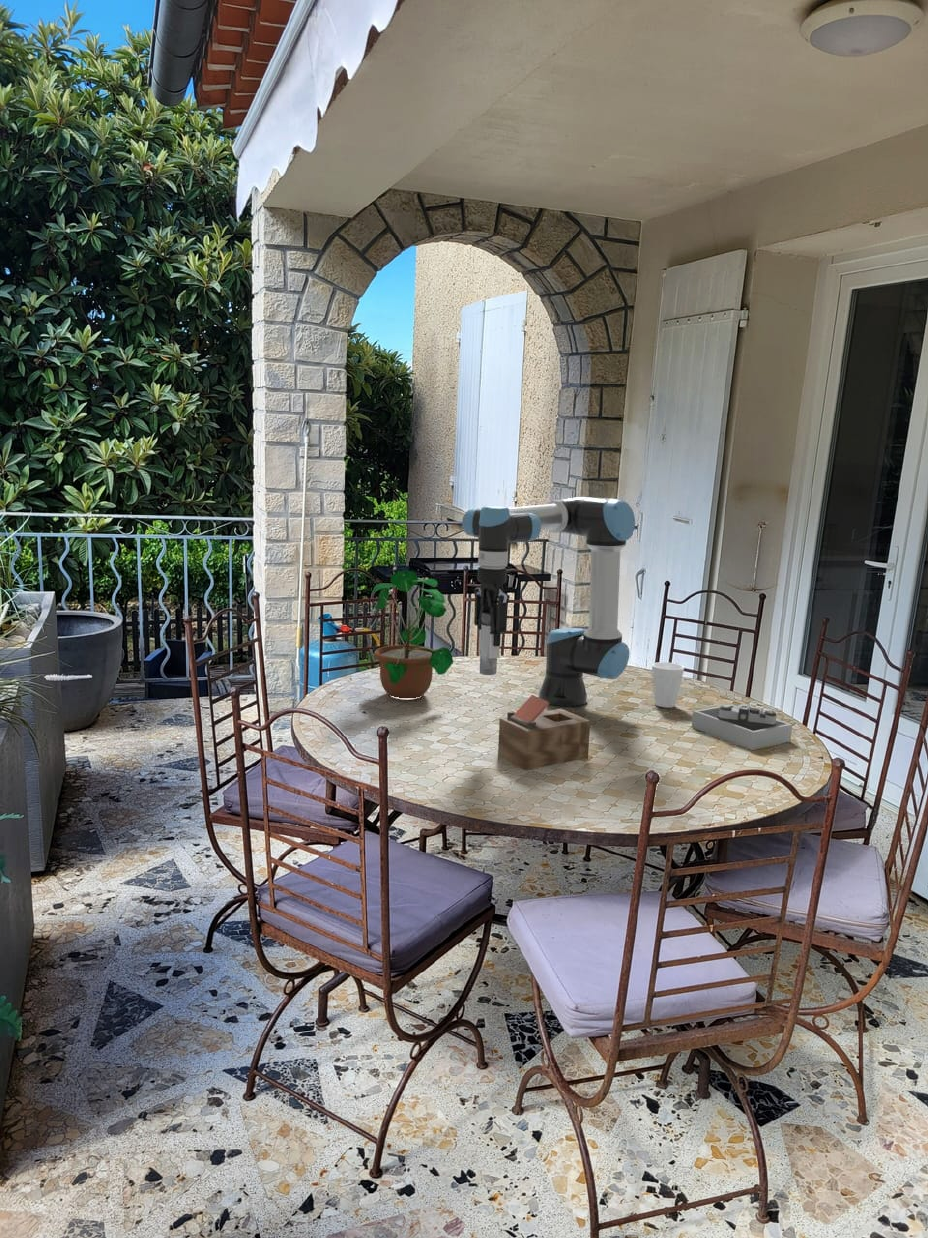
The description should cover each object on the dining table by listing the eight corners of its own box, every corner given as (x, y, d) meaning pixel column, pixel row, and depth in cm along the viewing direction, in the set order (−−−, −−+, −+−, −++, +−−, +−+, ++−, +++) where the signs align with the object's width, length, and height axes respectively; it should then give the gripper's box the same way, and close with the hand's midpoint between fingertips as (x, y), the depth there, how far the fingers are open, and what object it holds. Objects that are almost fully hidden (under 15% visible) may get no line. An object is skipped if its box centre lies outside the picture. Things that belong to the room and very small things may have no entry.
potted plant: (426, 715, 258) (430, 582, 251) (349, 698, 273) (351, 572, 266) (480, 693, 284) (485, 572, 277) (407, 678, 299) (410, 563, 291)
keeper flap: (533, 696, 226) (531, 694, 225) (550, 703, 220) (548, 701, 219) (511, 720, 223) (509, 717, 223) (528, 728, 217) (526, 725, 217)
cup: (646, 707, 275) (649, 667, 272) (651, 699, 284) (654, 660, 281) (678, 712, 271) (682, 671, 269) (683, 704, 280) (686, 664, 278)
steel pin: (490, 670, 233) (492, 611, 230) (499, 674, 230) (502, 614, 226) (476, 671, 231) (478, 612, 228) (485, 675, 227) (487, 615, 224)
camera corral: (729, 720, 265) (730, 704, 264) (790, 741, 246) (792, 724, 245) (691, 727, 256) (693, 710, 255) (752, 750, 238) (753, 732, 237)
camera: (773, 736, 252) (777, 703, 250) (773, 747, 243) (777, 712, 241) (717, 729, 257) (720, 696, 255) (715, 739, 248) (718, 705, 246)
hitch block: (559, 744, 237) (561, 702, 234) (587, 758, 227) (590, 714, 225) (497, 755, 226) (499, 712, 224) (525, 770, 216) (527, 725, 214)
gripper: (462, 563, 230) (459, 649, 235) (498, 572, 216) (494, 664, 220) (486, 562, 234) (483, 647, 239) (523, 571, 220) (519, 661, 224)
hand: (488, 655), depth 229 cm, fingers closed on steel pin, 4 cm apart
